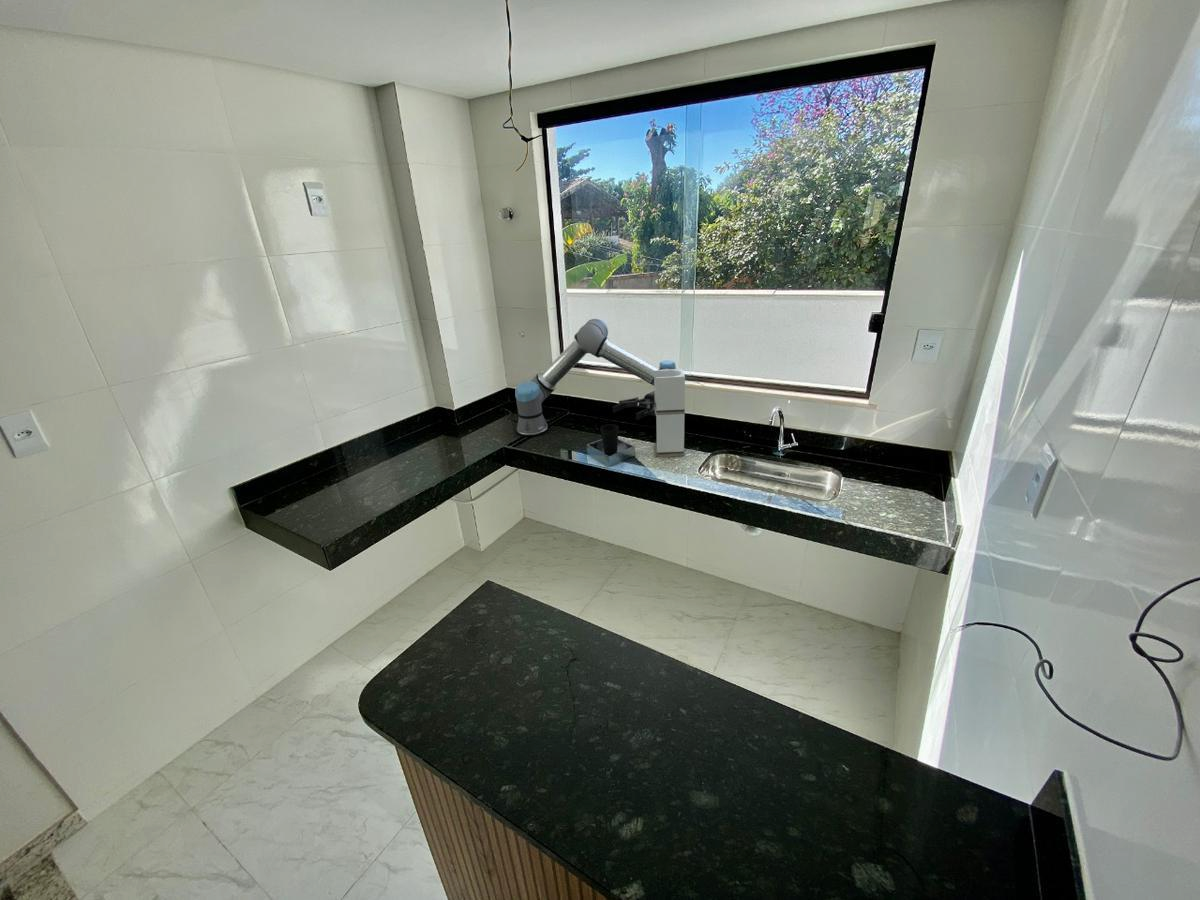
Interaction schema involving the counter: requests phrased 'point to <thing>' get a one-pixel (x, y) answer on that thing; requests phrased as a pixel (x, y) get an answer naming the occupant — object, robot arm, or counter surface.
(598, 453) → the translucent shallow box
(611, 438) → the cup
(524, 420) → the robot arm
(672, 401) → the grey square pillar
